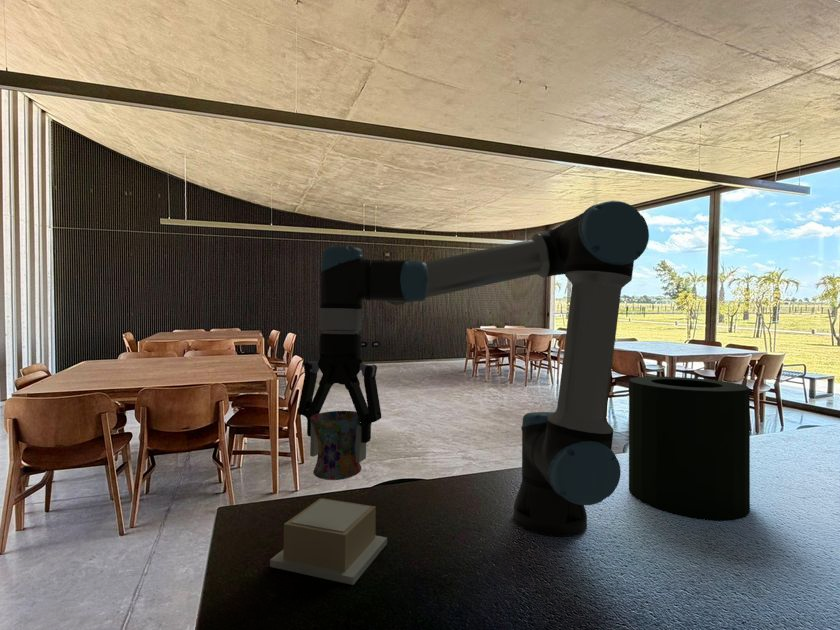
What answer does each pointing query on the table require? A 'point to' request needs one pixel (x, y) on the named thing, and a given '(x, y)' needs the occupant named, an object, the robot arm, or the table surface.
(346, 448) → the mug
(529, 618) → the table surface
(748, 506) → the flower pot
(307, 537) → the cream stepped pedestal
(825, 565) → the table surface
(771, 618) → the table surface
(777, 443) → the table surface
